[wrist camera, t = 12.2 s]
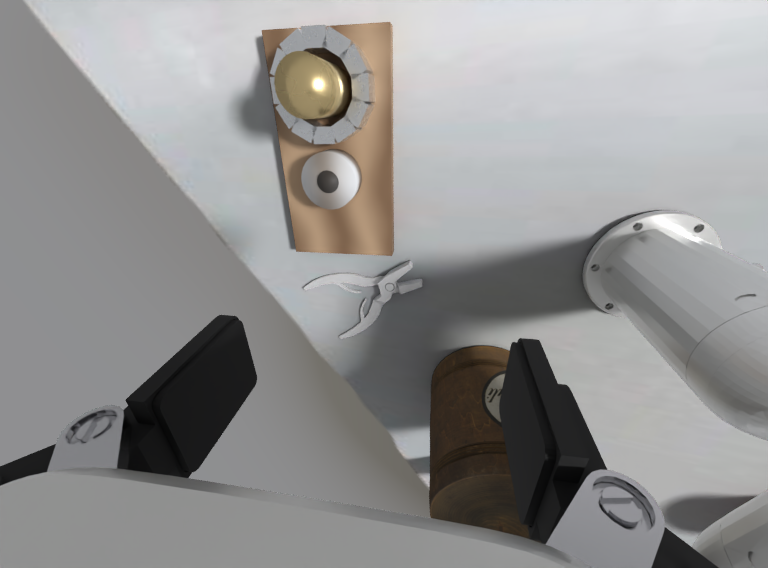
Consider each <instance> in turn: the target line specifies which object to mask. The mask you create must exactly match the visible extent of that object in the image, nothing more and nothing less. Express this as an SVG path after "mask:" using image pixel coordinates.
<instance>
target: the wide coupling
mask: <svg viewBox="0 0 768 568" xmlns="http://www.w3.org/2000/svg"><path fill="white" fill-rule="evenodd" d="M279 45H280V46H281V48H282V49H280V48H277V51H276V54H275V57H274V61H273V64H272V68H271V71H270V74H272V75H274V76H275V72H276V69H277V66H278V64H279V62H280V61H281V60H282V59H283V57H285V56H286V55H287V54H289V53H291V52H294V51H305V52H308V53H310V54H313V55H315V56H316V55H317V54H323V53H334V54H335V55H337V56H338V57H340V58H341V59H342V61H343V63H344V65H345V66H346V68H347V70H348V72H349V74H350V76H351V81H352V98H353V99H352V101H351V103H350V106H349V108H348V110H347V113H346V115H345V117H343V118H342V119H341V120H339V121H338V122H337V123H335V124H334V125H323V124H321V123H320V122H318V121H317V120H315V119H300V118H297V117H295V116H293V115H291V114H290V113H289V112H287V111H286V110H285V109H284V107H283V106H282V105H281V103H280V101H279V99H278V97H277V94H276V91H275V84H274V79H275V77H270V83H271V89H272V95H273V102H274V104H279V105H278V106H276V107H275V108H276V110H277V111H278V113H279V114H280V116H281V117H282V119H283V121H284V122H285V124H286V125H287V127H288V128H289V129H292V131H291V132H293V133H295V134H296V135H298V136H300V137H301V138H303V139H305V140H306V141H308V142H310V143H314V144H337V143H340V142H343V141H346V140H348V139H349V138H351V137H352V136H354V135H355V134H356V133H358V132H359V131H361V130H362V129H363V128H362V127H365V125H366V123H367V121H368V119H369V117H370V115H371V112H372V110H373V108H374V105H373V104H371V103H370V102H375V76H373V75H371V74H373V73H374V72H373V70H372V68H371V67H370V65H369V63H368V61H367V59H366V57H365V55H364V53H363V51H362V49H360V48H359V46H358V45H356V44H355V43H354V42H353V41H351V40H350V39H348V38H347V37H345V36H344V35H342V34H340V33H339V32H337V31H336V30H334V29H333V28H331V27H330V26H328V27H327V26H326V25H315V26H301V29H299V28H297V29H296V30H295V31H294V32H292V33H291V34H290V35H289V36H288V37H287V38H286V39H285V40H284V41H283V42H281V43H280V44H279Z"/></svg>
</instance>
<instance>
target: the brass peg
mask: <svg viewBox="0 0 768 568" xmlns="http://www.w3.org/2000/svg"><path fill="white" fill-rule="evenodd" d="M274 84H275V91H276V94H277V97H278V99H279V101H280V103H281V105H282V106H283V107H284V109H285V110H286V111H287V112H289V113H290V114H291V115H293V116H295V117H297V118H300V119H316V118H328V117H337V116H340V115H343V114H344V113H345V112H346V111H347V110H348V108H349V106H350V103H351V101H352V99H353V98H352V81H351V78H350V76H349V75H348V73H347V72H346V71H345V70H344V69H343V68H341V67H339V66H337V65H335V64H333V63H331V62H328V61H326V60H324V59H322V58H319V57H317V56H315V55H313V54H310V53H308V52H305V51H294V52H291V53H289V54H287V55H286V56H285V57H283V59H282V60H281V61H280V62H279V64H278V66H277V69H276V72H275V79H274Z"/></svg>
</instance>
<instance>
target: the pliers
mask: <svg viewBox="0 0 768 568" xmlns="http://www.w3.org/2000/svg"><path fill="white" fill-rule="evenodd" d="M412 267H413V263H412V262H411V261H410V260H409V261H407V262H406V263H404V264H402V265H400V266H398V267H396V268H394V269H392V270H391V271H389V272H388V274H386V275H385V276H384V277H383V276H377V277H367V276H362V275H359V274H355V273H334V274H329V275H325V276H322V277H319V278H317V279H315V280H313V281H312V282H310V283H309V284H307V285H306V286H305V287H304V290H305V291H306V290H309V289H311V288H315V287H318V286H321V285H326V284H332V283H334V284H336V285H338V286H340V287H341V288H343V289H345V290H347V291H349V292H353V293H361V290H355V289H351V288H349V287H347V286H345V285H344V284H343V283H350V284H354V285H358V286H362V287H368V286H374V285H378V286H379V290H380V293H381V294H379V295H378V296H377V297H376V298H375V299H374V300H373V302H372V305H371V308H370V310H369V313H368V314H367V316H366V317H365V316H364V313H363V307H364V304H365V302H366V301H367V299H366V298H365V300H364V302H363V304H362V306H361V309H360V316H361V322H360V323H358V324H357V325H356V326H355V327H353V328H352V329H350V330H348V331H347V332H345V333H343V334H341V335H340V336H339V337H340V339H344V338H348V337H351V336H354V335H356V334H358V333H360V332H362V331H364V330H365V329H366V328H368V327H369V326H370V325H371V324H372V323H373V322H374V321H375V320H376V319H377V317H378V316H379V314H380V311H381V308H382V306H383V305H384V304H385V303H386V302H387V301H388V300H390V299H391V296H392V293H398V292H399V293H400V294H404V293H406V292H409V291H412V290H415V289H417V288H420V287H422V284H423V282H422V278H421V279H415V280H409V281H403V282H397V280H398V279H399V278H400V277H402V276H403V275H404V274H405V273H407V272H408V271H409V270H410V269H411V268H412Z"/></svg>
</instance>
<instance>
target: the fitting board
mask: <svg viewBox="0 0 768 568" xmlns="http://www.w3.org/2000/svg"><path fill="white" fill-rule="evenodd" d="M327 27H328V26H327ZM330 27H331V28H333V29H334V30H336V31H337V32H339V33H340V34H342V35H344V36H345V37H347V38H348V39H350V40H351V41H353V42H354V43H355V44H356V45H358V46H359V48H360V49H362V51H363V53H364V55H365V57H366V59H367V61H368V63H369V65H370V67H371V68H372V70H373V72H374V73H373V74H371V75H373V76H375V102H370V103H371V104H373V105H374V108H373V110H372V112H371V115H370V117H369V119H368V121H367V123H366V125H365V127H362V128H363V129H362V130H361V131H359V132H358V133H356V134H355V135H354V136H352V137H351V138H349V139H348V140H346V141H343V142H340V143H337V144H314V143H310V142H308V141H306V140H305V139H303V138H301V137H300V136H298V135H296V134H295V133H293V132H291V131H292V129H289V128H288V127H287V125H286V124H285V122H284V121H283V119H282V117H281V116H280V114H279V113H278V111H277V110H276V108H275V107H276V106H278V105H279V104H274V102H273V106H274V112H275V118H276V125H277V131H278V138H279V144H280V150H281V157H282V163H283V169H284V176H285V182H286V189H287V195H288V201H289V208H290V214H291V221H292V227H293V233H294V240H295V246H296V251H297V252H320V253H342V254H365V255H387V256H392V254H393V252H394V212H393V40H392V24H391V23H390V22H383V23H368V24H352V25H336V26H330ZM296 29H297V28H289V29H273V30H262V35H263V42H264V48H265V55H266V61H267V67H268V74H269V80H270V77H275V76H274V75H272V74H270V71H271V68H272V64H273V61H274V57H275V54H276V51H277V48H280V49H282V48H281V46H280V45H279V44H280V43H281V42H283V41H284V40H285V39H286V38H287V37H288V36H289V35H290V34H291V33H292V32H294V31H295V30H296ZM299 29H301V28H299ZM316 56H317V57H319V58H322V59H324V60H326V61H328V62H331V63H333V64H335V65H337V66H339V67H341V68H343V69H344V70H345V71H346V72H347V73H348V75H349V76H350V74H349V72H348V70H347V68H346V66H345V65H344V63H343V61H342V59H341V58H340V57H338V56H337V55H335V54H334V53H323V54H317V55H316ZM350 78H351V76H350ZM270 86H271V83H270ZM271 93H272V89H271ZM272 99H273V95H272ZM346 113H347V111H346V112H345V113H344V114H343V115H340V116H337V117H328V118H316V119H315V120H317V121H318V122H320V123H321V124H323V125H334V124H335V123H337V122H338V121H339V120H341V119H342V118H343V117H345V115H346Z"/></svg>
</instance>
